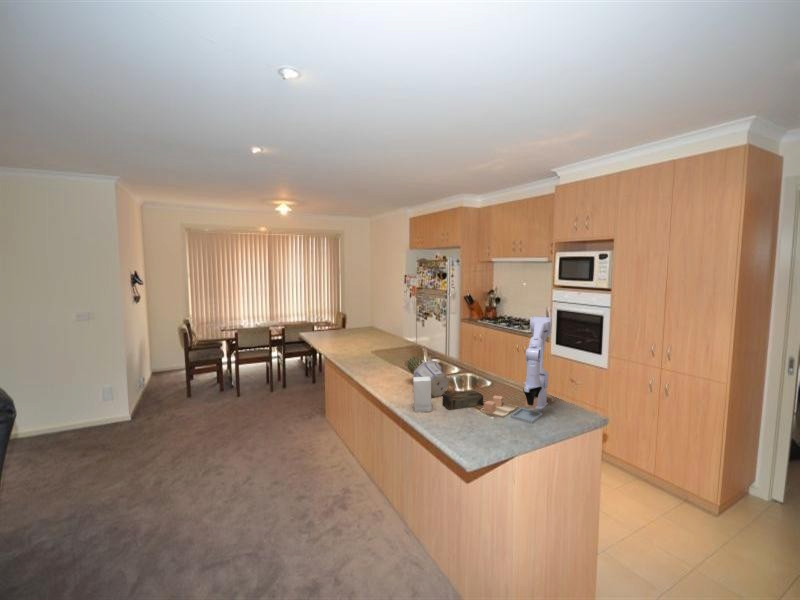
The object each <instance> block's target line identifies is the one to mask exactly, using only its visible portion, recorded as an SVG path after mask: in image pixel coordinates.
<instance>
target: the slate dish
mask: <svg viewBox="0 0 800 600" xmlns="http://www.w3.org/2000/svg"><path fill="white" fill-rule="evenodd" d="M509 415H510V416H509V417H510V418H509V419H513V420H517V421H520V422H524V423H526V424H532V425H533V424H534V423H535V422H536V421H537V420H539V419H540V418H541V417H542V416H543V412H541V411H537V410H533V409H529V408H526V407H520V408H519V409H516V410H515V411H513V413H512V414H509Z"/></svg>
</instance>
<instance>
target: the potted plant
mask: <svg viewBox="0 0 800 600" xmlns="http://www.w3.org/2000/svg"><path fill="white" fill-rule="evenodd" d="M406 366H407V368H408V370H409V372H411V373H412V375H413V376H412V378H413V377H430V379H431V398H438V397H441V396H443V394H445V393H446V392H447V391H448V389H449V385H450V380H449V378H448V377H447V376H446V374H445V373H444V372H443V371H442V370H443V368H442V366H441V365H440V364H439V362H437V361H436V360H428V361H422V359H421V358H419V357H415V356H412V357H410V358H409V359H408V360H407V363H406Z"/></svg>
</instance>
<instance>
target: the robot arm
mask: <svg viewBox="0 0 800 600" xmlns="http://www.w3.org/2000/svg"><path fill="white" fill-rule="evenodd" d="M529 319H530V320H529V327H530V332H531V334H532V335H533V336H531V337H530V339H529V343H528V347H527V348H526V349H525V365H526V373H525V374H526V377H525V381H524V382H523V385H524V388H523V389H522V391H523V393H524V396H525V398H526V399H527V403H528V405H533V402H534V397H538V398H537V406H536V407H535V408H534V409H539V410H542V409H544V408H545V407H546V406H548V405H549V403H548V402H547V393H548V392H547V388H548V387H549V373H548V371H547V370H545V368H544V361H545V360H544V359H545V357H544V356H545V348H546V345H545V344H546V340H547V337H548V336H550V335H551V333H552V325H553V320H552V319H553V318H552V317H551V316H549V317H547V316H546V317H544V316H532V315H531V317H530V318H529Z"/></svg>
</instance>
